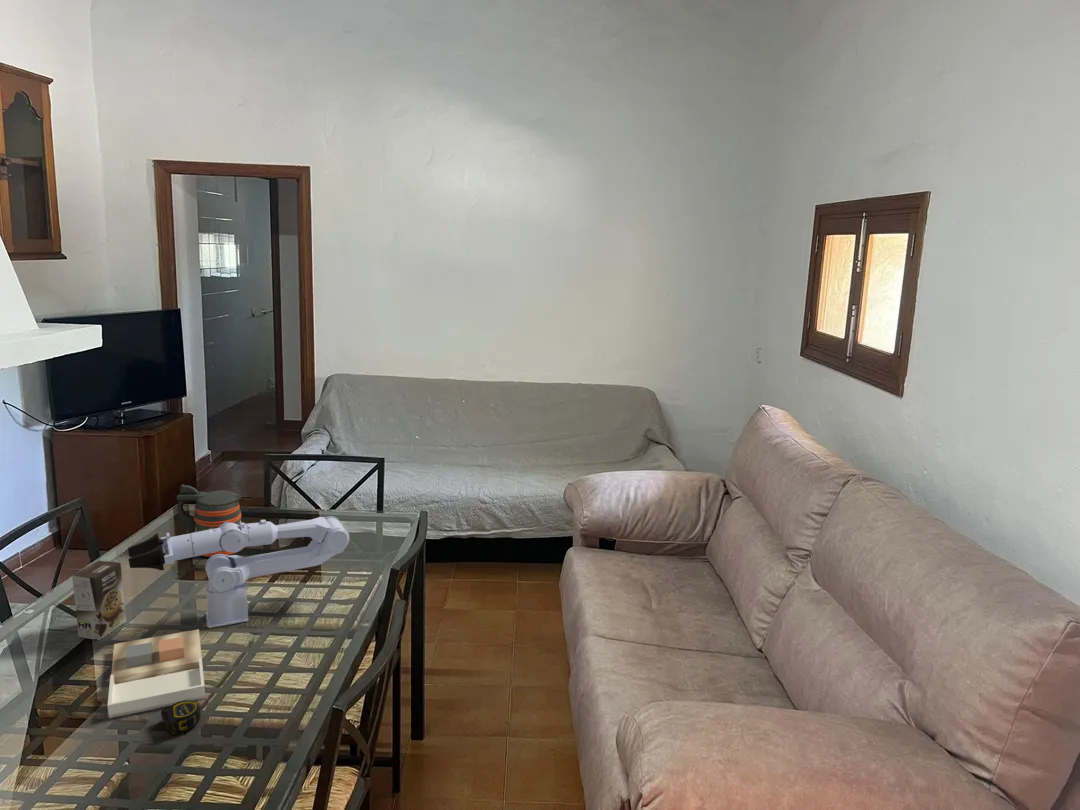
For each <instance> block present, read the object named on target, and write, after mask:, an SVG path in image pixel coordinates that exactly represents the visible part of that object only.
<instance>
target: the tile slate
mask: <svg viewBox="0 0 1080 810" xmlns="http://www.w3.org/2000/svg"><path fill="white" fill-rule="evenodd" d="M152 654H153V652H152V642H150V643H145V644H139V645H133V646H128V647H127V651H126V662H127V668H131V667H136V666H141V665H147V664H152Z"/></svg>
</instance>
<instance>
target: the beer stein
mask: <svg viewBox="0 0 1080 810" xmlns="http://www.w3.org/2000/svg"><path fill="white" fill-rule="evenodd" d="M241 499H242V496H241V494H238V493H235V492H234V491H229V490H222V489H221V490H213V491H207V492H206V491H198V490H197V488H195V487H193V486H192V485H185V484H181V485H180V491H179V494H177V495H176V500H177V501H178V502H177V506H176V507H177V508H176V509H177V514H178V516H179V519H180V520H181V522H182V523H183V524H184V525H185V526H186V529H185V530H186V533H187V534H189V533H194V532H199V531H204V530H209V529H215V528H219V527H220V526H221V525H222V524H223V523H225V522H229V523H235V524H238V525H240V523H242V511H241V507H240V502H239V500H241ZM188 501H192V502H195V506H194V511H193V515H190V514H188V513H187V512H186V511H185V510H184V509H185V508H184V505H185V503H186V502H188ZM245 548H246V547H244V548H242V549H241V550H240V551H238V552H236V553H235V552H227V551H225V550H223V551H218V552H214V553H209V554H204V555H200V556H202V557H208V558H210V557H212V556H214V555H217V554H223V555H227V556H232V555H236V554H237V553H240V552H241V551H243V550H244V549H245Z"/></svg>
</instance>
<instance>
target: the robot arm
mask: <svg viewBox="0 0 1080 810" xmlns="http://www.w3.org/2000/svg"><path fill="white" fill-rule="evenodd" d="M165 534H166V536H163V537H159V533H155V534H154V535H152V536H151V537H149V538H148V539H146V540H144V541H141V542H140V543H137V544H134V545H131V546H130V547H128V548H127V550H128V557H129V558H128V564H129V565H128V566H129V569H153V570H159V571H165V566H167V565H172V564H175V562H176V561H180V560H185V559H189V558H194V557H198V556H201V555H204V554H209V553H214V552H218V551H223V550H225V551H227V552H235V554H232V555H229V556H227V555H223V554H217V555H214V556H212V557H208V559H207V561H206V563H205V566H204V571H205V573H206V576H207V577H208V581H207V583H206V585H205V593H206V607H207V611H206V612H205V618H206V626H207V629H213V628H218V627H224V626H229V625H234V624H239V623H246V622H249V602H248V595H247V587H246V581H247V580H248V579H252V578H257V577H262V576H268V575H273V574H279V573H284V572H290V571H295V570H301V569H306V568H311V567H312V568H313V567H316V566H321V564H324V563H325V562H326V561H328V560H329V559H331V558H333V557H334V556H335V555H337V554H341V553H343V552H344V550H345V549H346V547H347V546H348V544H349V543H350V533H349V532H348V530H346V529H345V528H344V526H343V524H342V522H341V521H340V519H339V518H337V517H335V516H332V515H331V516H329V515H328V516H326V517H324V516H319V517H316V518H312V519H307V520H301V521H295V522H287V523H281V524H277V525H276V524H274V523H273V522H271V520H270V521H266V519H260V520H259V522H252V523H251V522H250V523H245V522H241V523H240V525H238V524H235V523H229V522H225V523H223V524H222V525H221V526H220V527H219V528H215V529H209V530H204V531H199V532H194V533H186V534H180V535H175V536H171V535H170V532H166V533H165ZM305 537H306V538H311V539H312V540H311V541H310V542H309V543H308V545H307V546H301V547H295V548H289V549H284V550H278V551H272V552H268V553H260V554H254V555H250V556H241V555H237V553H236V552H238V551H240V550H241V549H242V548H244V547H245V548H248V547H258V546H264V545H272V544H273V543H274V542H275V541H277V539H289V538H290V539H293V538H294V539H295V538H305ZM245 548H244V549H245ZM241 551H242V550H241ZM241 551H240V552H241ZM238 553H239V552H238ZM164 565H165V566H164Z"/></svg>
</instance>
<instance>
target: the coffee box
mask: <svg viewBox="0 0 1080 810" xmlns="http://www.w3.org/2000/svg"><path fill="white" fill-rule="evenodd" d="M71 577H72V588H73V595H74V596H73V597H74V605H75V615H76V625H77V635H78V638H83V639H89V640H95V639H100V640H99V641H102V640H103V639H105V638H106V637H108V636H109V635H110V634H112V633H113V632H114V631H113V630H115V629H116V628H118V627H119V626H121V625H122V624H124V623H125V622H126V623H127V615H126V606H125V596H124V595H125V594H124V593H125V592H124V587H123V586H124V585H123V583H124V582H123V575H122V563H121V562H117V561H107V560H97V561H95V562H94V563H92V564H90V565H88V566H86V567H85V568H82V569H81V570H79V571H77V572H76V573H73V574H72V575H71ZM126 623H125V624H126ZM125 624H124V625H125ZM122 626H123V625H122ZM122 626H121V627H122ZM119 628H120V627H119ZM119 628H118V629H119ZM116 630H117V629H116ZM116 630H115V631H116ZM112 631H113V632H112ZM111 632H112V633H111ZM108 634H109V635H108ZM107 635H108V636H107ZM105 636H106V637H105ZM104 637H105V638H104ZM102 638H103V639H102ZM101 639H102V640H101Z"/></svg>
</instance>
